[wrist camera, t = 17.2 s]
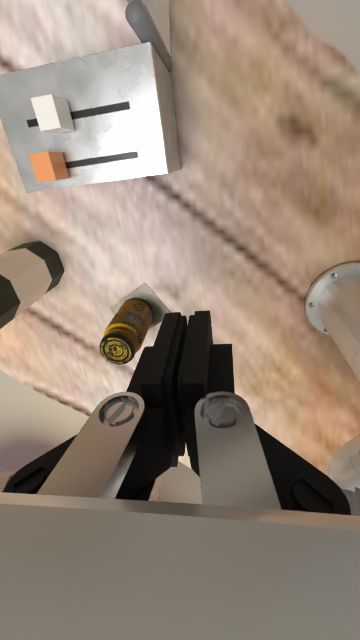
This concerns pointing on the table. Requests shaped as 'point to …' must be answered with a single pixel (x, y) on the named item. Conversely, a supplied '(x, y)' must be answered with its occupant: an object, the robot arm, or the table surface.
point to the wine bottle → (26, 277)
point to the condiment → (131, 325)
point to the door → (152, 25)
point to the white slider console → (96, 117)
